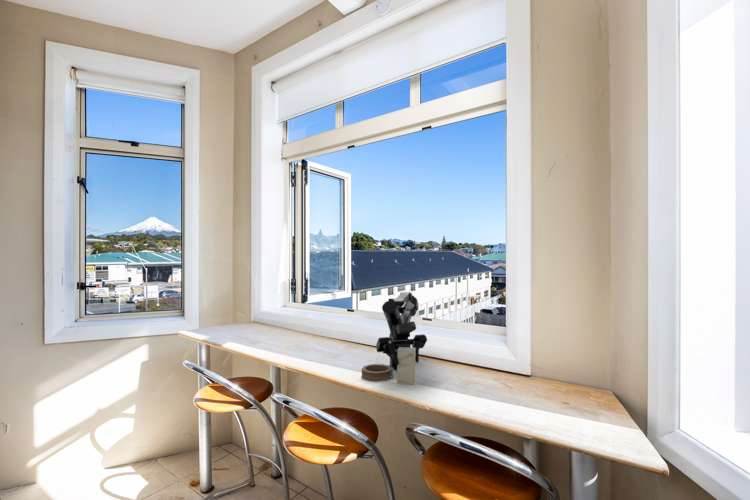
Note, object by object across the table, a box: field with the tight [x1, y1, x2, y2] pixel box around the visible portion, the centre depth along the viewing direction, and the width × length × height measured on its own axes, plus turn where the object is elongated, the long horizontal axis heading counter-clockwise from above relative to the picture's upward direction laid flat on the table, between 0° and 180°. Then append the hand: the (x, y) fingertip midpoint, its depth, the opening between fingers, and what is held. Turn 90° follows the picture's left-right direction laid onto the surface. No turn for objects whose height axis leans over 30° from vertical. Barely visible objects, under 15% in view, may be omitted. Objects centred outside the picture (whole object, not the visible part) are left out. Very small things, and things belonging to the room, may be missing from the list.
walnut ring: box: [361, 363, 393, 382], centre depth 139 cm, size 11×11×3 cm
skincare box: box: [396, 347, 417, 386], centre depth 132 cm, size 6×4×12 cm
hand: (408, 363), depth 131 cm, fingers closed on skincare box, 7 cm apart
